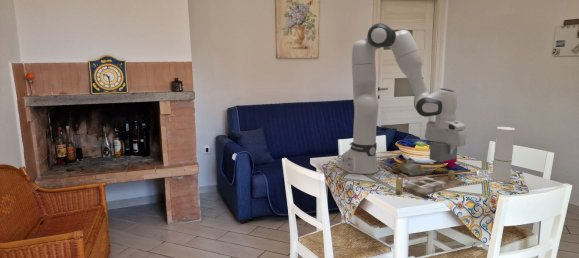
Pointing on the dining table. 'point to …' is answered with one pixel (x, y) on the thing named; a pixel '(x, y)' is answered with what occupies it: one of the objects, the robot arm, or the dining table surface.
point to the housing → (441, 152)
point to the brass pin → (399, 185)
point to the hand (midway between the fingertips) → (443, 152)
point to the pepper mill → (451, 162)
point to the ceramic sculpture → (408, 167)
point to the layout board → (449, 185)
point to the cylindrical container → (503, 154)
